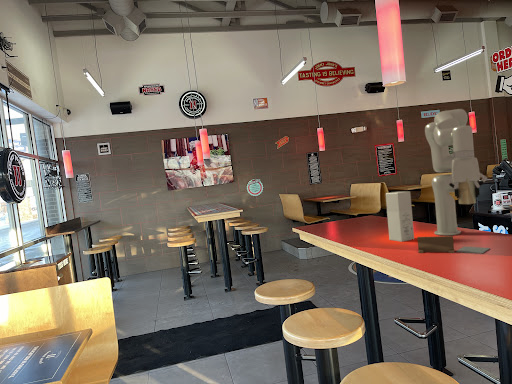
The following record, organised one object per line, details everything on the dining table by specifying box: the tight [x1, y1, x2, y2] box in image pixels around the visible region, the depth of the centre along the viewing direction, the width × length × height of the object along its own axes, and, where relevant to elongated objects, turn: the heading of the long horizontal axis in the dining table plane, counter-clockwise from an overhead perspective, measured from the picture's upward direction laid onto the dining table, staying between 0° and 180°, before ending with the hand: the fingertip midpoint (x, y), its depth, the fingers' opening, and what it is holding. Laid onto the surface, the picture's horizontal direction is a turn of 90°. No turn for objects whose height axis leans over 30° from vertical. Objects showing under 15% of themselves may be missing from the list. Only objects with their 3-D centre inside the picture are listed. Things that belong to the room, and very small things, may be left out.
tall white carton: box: [385, 191, 415, 243], centre depth 198 cm, size 9×9×25 cm
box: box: [458, 178, 477, 205], centre depth 160 cm, size 5×4×11 cm
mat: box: [456, 246, 491, 255], centre depth 160 cm, size 10×10×1 cm
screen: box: [417, 235, 455, 254], centre depth 164 cm, size 5×14×6 cm, turn 65°
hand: (467, 197), depth 160 cm, fingers closed on box, 6 cm apart
